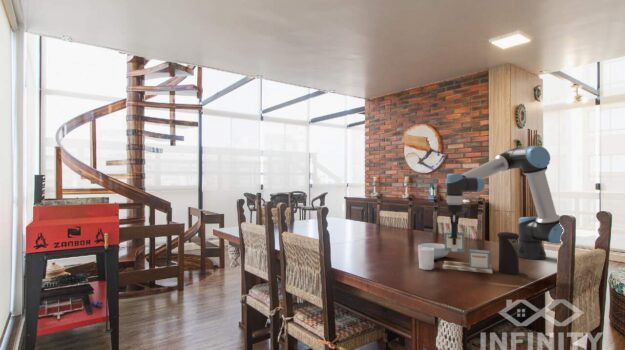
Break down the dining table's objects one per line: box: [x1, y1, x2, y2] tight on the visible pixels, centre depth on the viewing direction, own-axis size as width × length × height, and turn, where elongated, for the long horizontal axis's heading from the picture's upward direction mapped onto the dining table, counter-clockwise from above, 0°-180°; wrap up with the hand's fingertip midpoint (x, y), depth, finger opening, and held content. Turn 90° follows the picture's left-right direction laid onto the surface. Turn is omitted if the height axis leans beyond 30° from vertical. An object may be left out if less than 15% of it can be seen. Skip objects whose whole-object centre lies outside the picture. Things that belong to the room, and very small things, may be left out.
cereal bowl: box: [417, 242, 450, 260], centre depth 201 cm, size 17×17×7 cm
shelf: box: [442, 260, 493, 274], centre depth 173 cm, size 22×10×2 cm, turn 65°
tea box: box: [444, 231, 465, 253], centre depth 176 cm, size 5×9×9 cm, turn 65°
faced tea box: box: [468, 248, 491, 269], centre depth 171 cm, size 5×9×9 cm, turn 65°
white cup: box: [417, 247, 435, 271], centre depth 178 cm, size 8×8×10 cm
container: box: [497, 231, 520, 276], centre depth 166 cm, size 9×9×20 cm
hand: (454, 250), depth 176 cm, fingers closed on tea box, 5 cm apart
